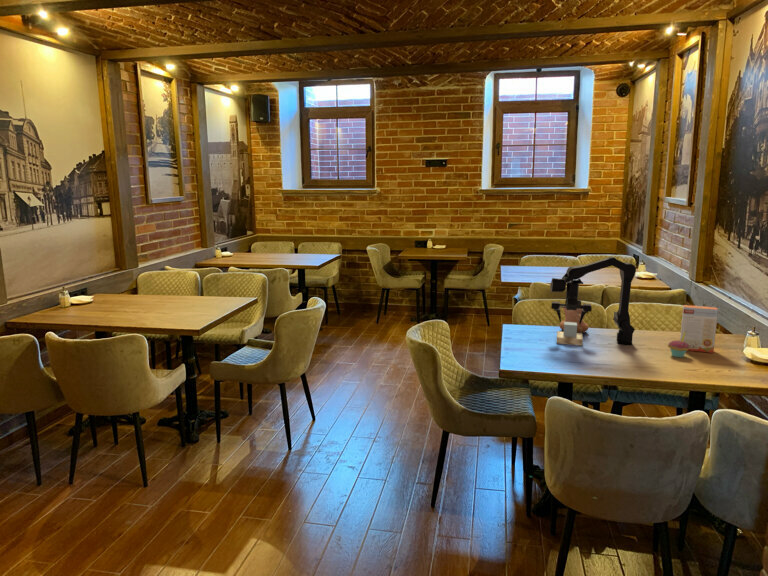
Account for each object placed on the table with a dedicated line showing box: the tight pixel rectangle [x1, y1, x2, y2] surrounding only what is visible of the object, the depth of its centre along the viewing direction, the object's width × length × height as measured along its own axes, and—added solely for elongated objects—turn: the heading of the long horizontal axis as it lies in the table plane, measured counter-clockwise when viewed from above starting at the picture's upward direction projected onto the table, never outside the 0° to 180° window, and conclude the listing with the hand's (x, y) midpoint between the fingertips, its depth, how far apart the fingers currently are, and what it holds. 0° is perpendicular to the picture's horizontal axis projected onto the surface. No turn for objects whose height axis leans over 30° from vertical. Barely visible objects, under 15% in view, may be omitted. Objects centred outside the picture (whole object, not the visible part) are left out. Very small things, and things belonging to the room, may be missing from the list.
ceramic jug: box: [559, 308, 589, 334], centre depth 294 cm, size 18×14×14 cm
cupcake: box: [667, 332, 690, 358], centre depth 253 cm, size 9×8×12 cm
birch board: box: [556, 330, 584, 346], centre depth 277 cm, size 12×12×3 cm
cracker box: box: [679, 304, 719, 354], centre depth 261 cm, size 14×6×21 cm, turn 65°
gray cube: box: [563, 322, 577, 337], centre depth 276 cm, size 6×6×6 cm
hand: (570, 323), depth 276 cm, fingers open, 9 cm apart
